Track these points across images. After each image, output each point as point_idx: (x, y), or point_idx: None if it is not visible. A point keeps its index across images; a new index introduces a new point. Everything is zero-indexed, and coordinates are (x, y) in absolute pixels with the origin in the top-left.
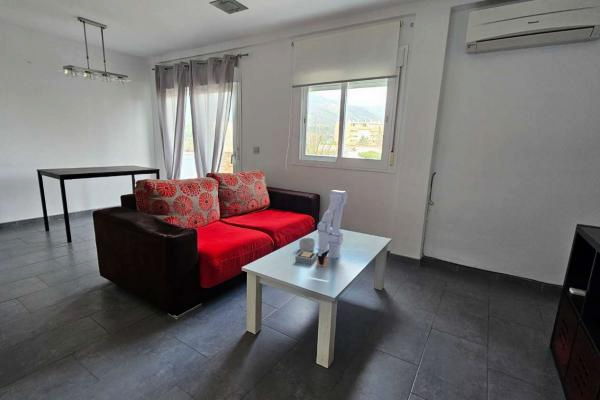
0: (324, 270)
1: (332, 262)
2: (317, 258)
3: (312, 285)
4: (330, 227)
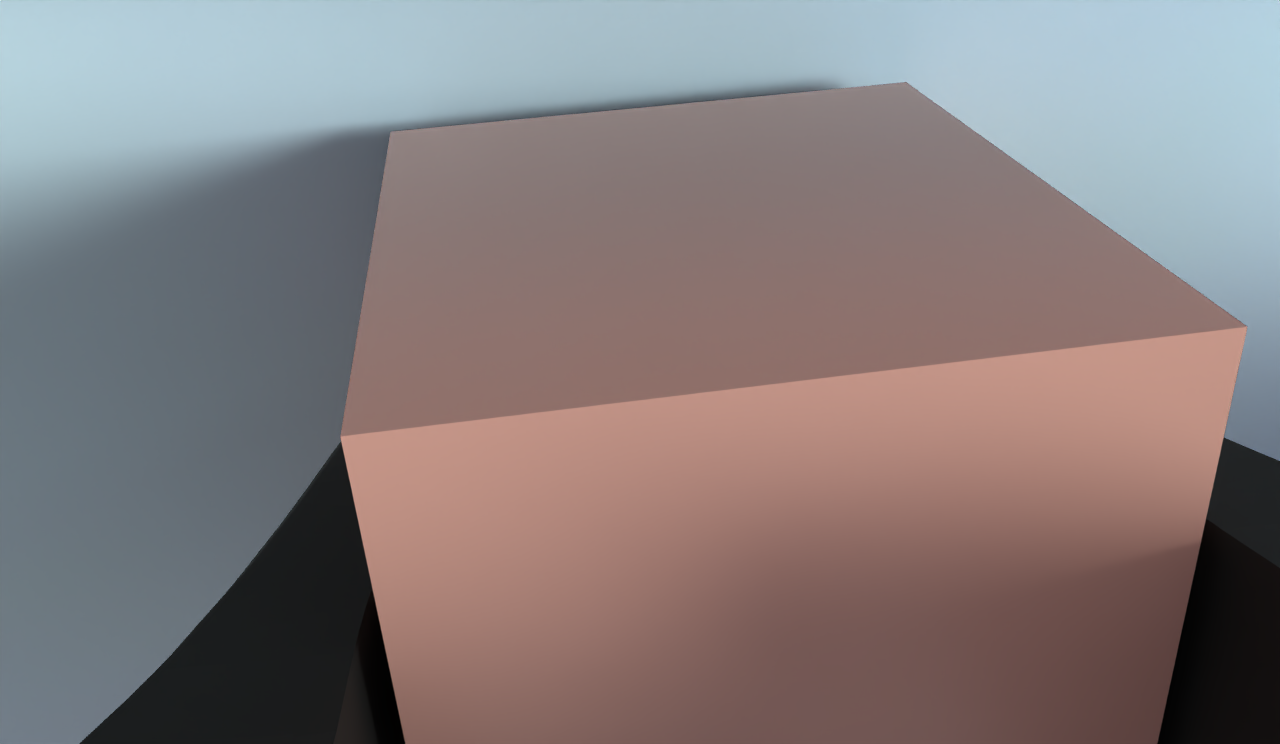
0: None
1: None
2: (353, 492)
3: None
4: None
